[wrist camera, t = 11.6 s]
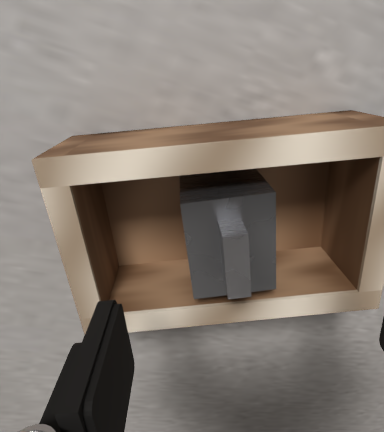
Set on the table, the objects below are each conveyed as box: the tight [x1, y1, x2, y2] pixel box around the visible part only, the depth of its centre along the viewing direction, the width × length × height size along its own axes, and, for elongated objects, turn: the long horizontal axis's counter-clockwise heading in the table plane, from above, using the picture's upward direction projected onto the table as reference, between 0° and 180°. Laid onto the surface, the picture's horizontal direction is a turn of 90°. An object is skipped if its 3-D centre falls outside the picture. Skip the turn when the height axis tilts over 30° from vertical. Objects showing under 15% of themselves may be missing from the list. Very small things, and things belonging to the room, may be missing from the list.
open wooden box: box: [32, 110, 384, 334], centre depth 17 cm, size 15×9×5 cm, turn 95°
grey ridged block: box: [179, 168, 276, 300], centre depth 15 cm, size 4×5×6 cm
